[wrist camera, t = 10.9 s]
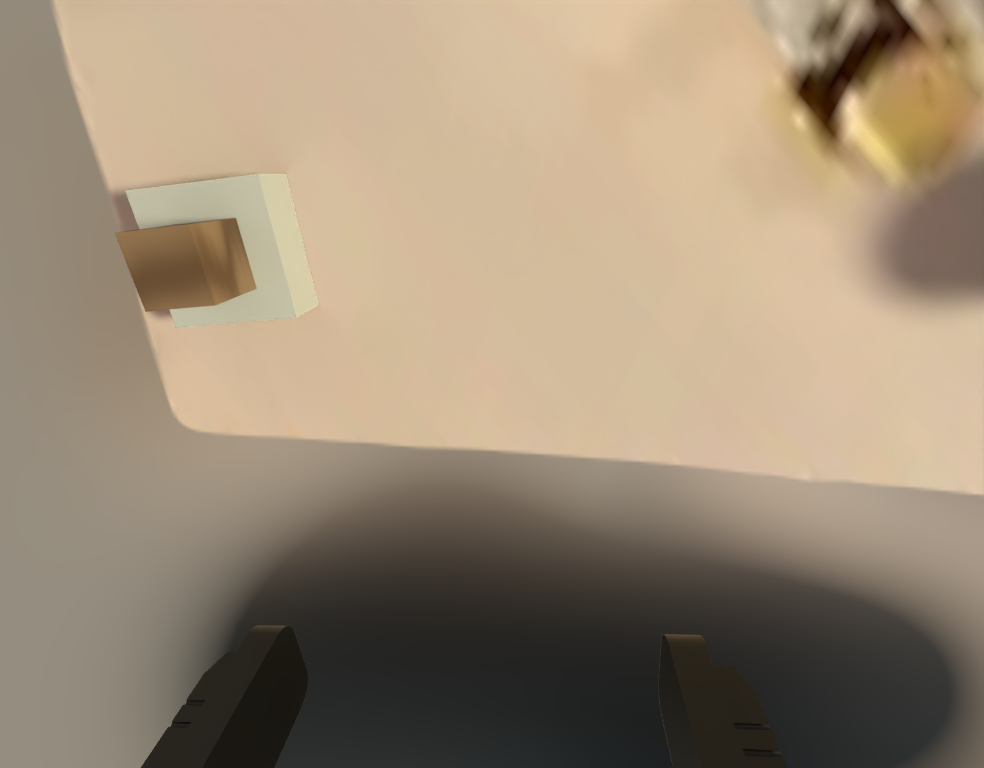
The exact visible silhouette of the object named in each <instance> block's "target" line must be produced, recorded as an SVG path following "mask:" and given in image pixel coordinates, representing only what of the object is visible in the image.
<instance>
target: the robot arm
mask: <svg viewBox="0 0 984 768" xmlns="http://www.w3.org/2000/svg"><path fill="white" fill-rule="evenodd" d="M660 655H661V656H660V668H659V684H658V689H659V701H660V708H661V714H662V720H663V725H664V729H665V733H666V738H667V743H668V747H669V751H670V756H671V760H672V765H673V768H787V765H786V763H785V761H784V758H783V757H782V756H781V753H780V749H779V746H778V744H777V741H776V739H775V736H774V734H773V732H772V730H770V727H769V722H768V720H767V717H766V715H765V712H764V710H763V708H762V705H761V703H760V701H759V698H758V696H757V693H756V692H755V691H754V690H753V688H752V687H751V686H750V685H749V684H748V682H747V681H746V680H745V679H744V678H743V676H742V675H741V674H740V673H739V672H738V670H737V669H736V668H735V667H730V666H713V663H712V660H711V657H710V655H709V652H708V649H707V646H706V643H705V641H704V639H703V637H702V636H700V635H663V636H662V641H661V654H660ZM307 687H308V672H307V668H306V665H305V662H304V659H303V656H302V653H301V650H300V647H299V644H298V641H297V638H296V635H295V632H294V630H293V628H292V627H290V626H255V627H254V628H252V629H251V630H250V631H249V633H248V634H247V636H246V637H245V639H244V640H243V642H242V644H241V645H240V647H239V648H238V650H237V651H236V652H227V653H226V654H225V655H224V656H223V657H222V658H221V659H220V660H218V661H217V662H216V663H215V664H214V665H213V666H212V667H211V668H210V669H209V670H208V671H207V672H205V673H204V675H203V676H202V678H201V679H200V681H199V682H198V684H197V685H196V687H195V688H194V689H193V691H192V692H191V694H190V695H189V697H188V699H187V702H186V704H185V705H183V706H182V707H181V709H180V710H179V712H178V713H177V715H176V716H175V718H174V719H173V721H172V725H171V727H168V728H167V730H166V731H165V733H164V734H163V736H162V737H161V738H160V740H159V741H158V743H157V745H156V746H155V747H154V749H153V750H152V752H151V753H150V755H149V756H148V758H147V759H146V761H145V762H144V764H143V765H142V767H141V768H275V765H276V763H277V761H278V759H279V757H280V754H281V752H282V750H283V748H284V745H285V743H286V741H287V739H288V736H289V734H290V732H291V730H292V727H293V725H294V723H295V721H296V719H297V716H298V714H299V712H300V710H301V707H302V705H303V702H304V700H305V697H306V692H307Z"/></svg>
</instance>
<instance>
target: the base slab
mask: <svg viewBox="0 0 984 768" xmlns="http://www.w3.org/2000/svg"><path fill="white" fill-rule="evenodd" d="M125 192H126V195H127V198H128V200H129V203H130V206H131V208H132V211H133V214H134V216H135V219H136V222H137V224H138V227H139V230H140V229H147V228H154V227H161V226H168V225H176V224H185V223H194V222H203V221H212V220H221V219H230V218H236V220H237V223H238V227H239V230H240V233H241V237H242V240H243V244H244V247H245V250H246V254H247V257H248V261H249V264H250V267H251V271H252V274H253V278H254V281H255V284H256V288H257V289H255V290H252V291H250V292H247V293H245V294H243V295H240V296H238V297H235V298H233V299H230V300H228V301H225V302H223V303H220V304H218V305H215V306H204V307H193V308H181V309H170V313H171V316H172V318H173V321H174V324H175V326H176V328H182V327H194V326H206V325H217V324H229V323H241V322H252V321H264V320H276V319H287V318H297V317H299V316H301V315H302V314H304V313H306V312H307V311H309V310H311V309H312V308H314V307H316V306H317V305H319V303H318V299H317V295H316V291H315V287H314V283H313V279H312V275H311V271H310V267H309V263H308V259H307V255H306V251H305V247H304V243H303V239H302V235H301V231H300V227H299V223H298V219H297V215H296V211H295V207H294V203H293V199H292V195H291V191H290V187H289V183H288V179H287V175H286V174H252V175H244V176H236V177H229V178H221V179H213V180H205V181H197V182H189V183H181V184H173V185H165V186H157V187H150V188H142V189H134V190H126V191H125Z"/></svg>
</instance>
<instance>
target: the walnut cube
mask: <svg viewBox="0 0 984 768" xmlns="http://www.w3.org/2000/svg"><path fill="white" fill-rule="evenodd" d="M115 234H116V237H117V239H118V242H119V244H120V247H121V249H122V252H123V255H124V257H125V260H126V262H127V265H128V267H129V270H130V273H131V275H132V278H133V280H134V283H135V285H136V288H137V290H138V293H139V296H140V298H141V301H142V303H143V306H144V308H145V311H146V312H147V311H159V310H170V309H181V308H193V307H204V306H215V305H218V304H220V303H223V302H225V301H228V300H230V299H233V298H235V297H238V296H240V295H243V294H245V293H247V292H250V291H252V290H255V289H257V288H256V284H255V281H254V278H253V274H252V271H251V267H250V264H249V261H248V257H247V254H246V250H245V247H244V244H243V240H242V237H241V233H240V230H239V227H238V223H237V220H236V218H230V219H221V220H212V221H203V222H194V223H185V224H176V225H168V226H161V227H154V228H147V229H140V230H133V231H126V232H119V233H115Z"/></svg>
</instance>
